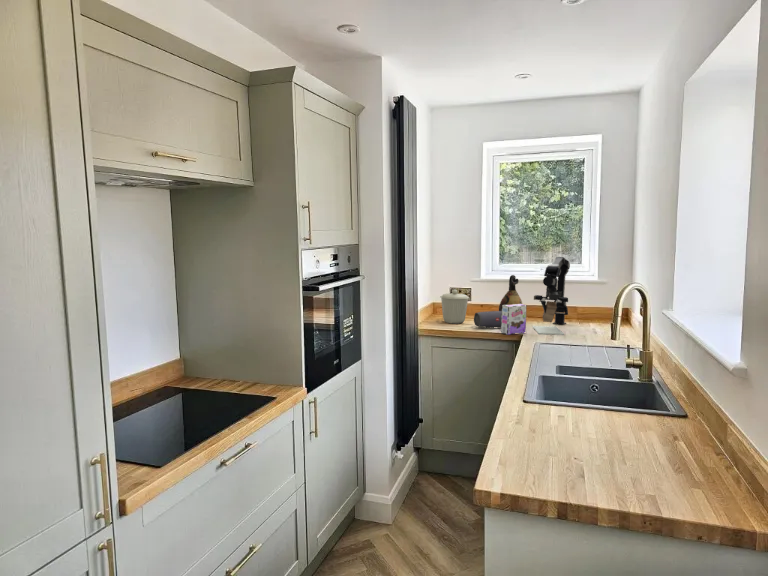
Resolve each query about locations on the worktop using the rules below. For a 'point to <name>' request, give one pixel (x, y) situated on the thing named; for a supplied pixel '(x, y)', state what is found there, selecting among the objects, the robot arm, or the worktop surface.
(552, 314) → the walnut block
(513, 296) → the ceramic jug
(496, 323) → the bluetooth speaker
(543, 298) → the robot arm
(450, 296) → the canister
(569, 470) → the worktop surface
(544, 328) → the sage mat
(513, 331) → the candy box
